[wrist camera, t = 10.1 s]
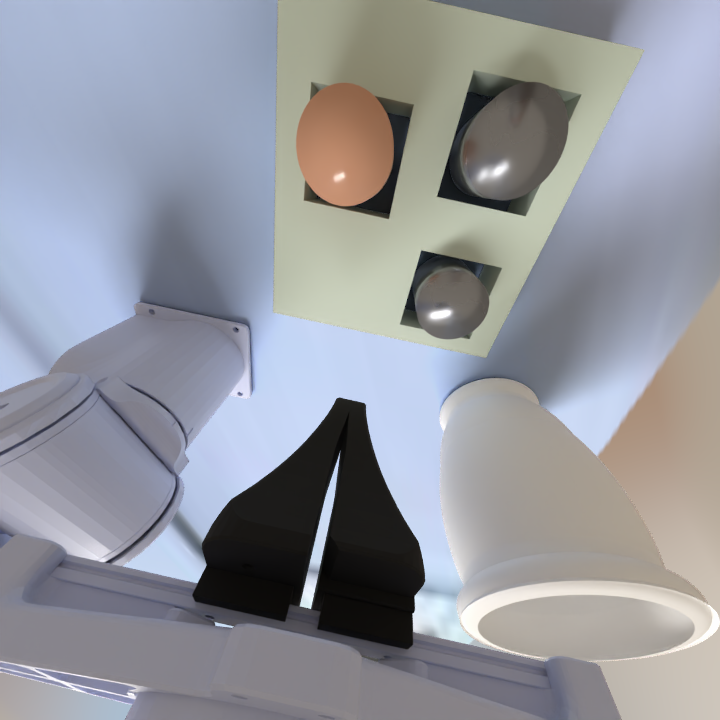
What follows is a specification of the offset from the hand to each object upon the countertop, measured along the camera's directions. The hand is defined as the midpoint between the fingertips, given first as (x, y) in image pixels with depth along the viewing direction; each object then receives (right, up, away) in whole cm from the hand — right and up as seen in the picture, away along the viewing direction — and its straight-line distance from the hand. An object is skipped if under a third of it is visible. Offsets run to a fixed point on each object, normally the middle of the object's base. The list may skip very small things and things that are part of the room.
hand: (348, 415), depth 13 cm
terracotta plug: (0, +14, +2) cm, 14 cm away
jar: (+12, -2, +12) cm, 18 cm away
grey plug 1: (+6, +8, +6) cm, 12 cm away
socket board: (+4, +12, +4) cm, 13 cm away
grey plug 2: (+8, +14, +2) cm, 16 cm away
